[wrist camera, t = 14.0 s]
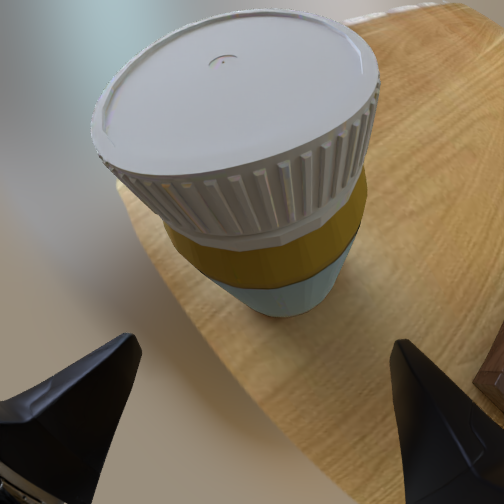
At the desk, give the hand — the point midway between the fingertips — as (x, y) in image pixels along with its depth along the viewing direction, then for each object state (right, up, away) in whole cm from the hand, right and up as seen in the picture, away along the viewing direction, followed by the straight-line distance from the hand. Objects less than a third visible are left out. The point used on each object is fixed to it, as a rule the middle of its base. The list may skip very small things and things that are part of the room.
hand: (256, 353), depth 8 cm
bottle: (+2, +2, +10) cm, 11 cm away
